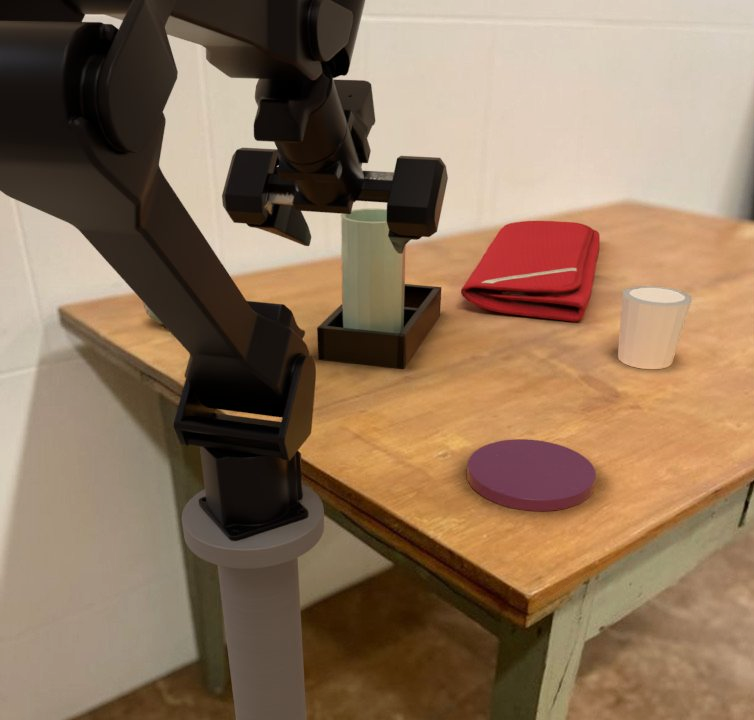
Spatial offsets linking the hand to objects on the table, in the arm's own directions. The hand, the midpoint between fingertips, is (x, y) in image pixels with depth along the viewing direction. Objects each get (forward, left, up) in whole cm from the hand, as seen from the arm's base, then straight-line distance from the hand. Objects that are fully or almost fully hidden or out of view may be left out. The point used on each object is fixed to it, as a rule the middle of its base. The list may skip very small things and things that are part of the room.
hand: (354, 245), depth 77 cm
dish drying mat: (+41, +17, -13) cm, 46 cm away
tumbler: (+5, +4, -13) cm, 14 cm away
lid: (0, -27, -13) cm, 30 cm away
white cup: (+28, -14, -13) cm, 34 cm away
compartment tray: (+8, +7, -13) cm, 17 cm away
